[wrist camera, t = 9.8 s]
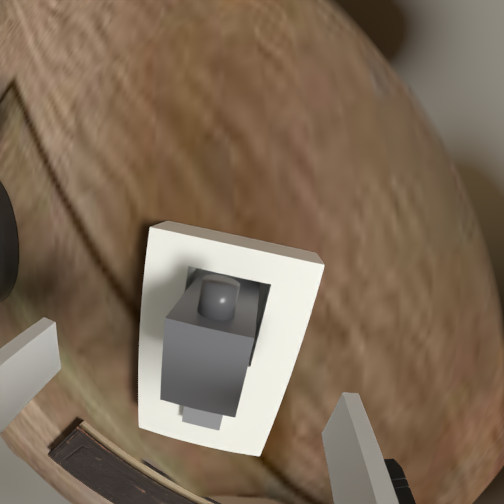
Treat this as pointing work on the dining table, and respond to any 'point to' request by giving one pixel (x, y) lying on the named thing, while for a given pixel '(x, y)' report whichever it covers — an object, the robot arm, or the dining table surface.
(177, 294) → the socket
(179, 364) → the plug
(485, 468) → the dining table surface
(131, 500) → the hardcover book
